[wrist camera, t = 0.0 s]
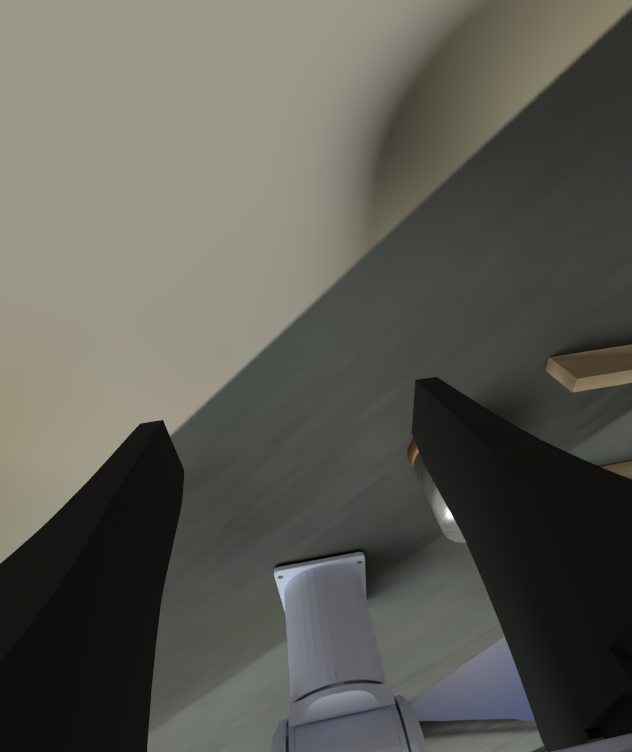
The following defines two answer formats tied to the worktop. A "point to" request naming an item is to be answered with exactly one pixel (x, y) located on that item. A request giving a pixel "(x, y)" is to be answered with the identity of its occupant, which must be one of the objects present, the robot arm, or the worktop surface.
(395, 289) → the worktop surface
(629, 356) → the rack
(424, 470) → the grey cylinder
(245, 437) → the worktop surface
